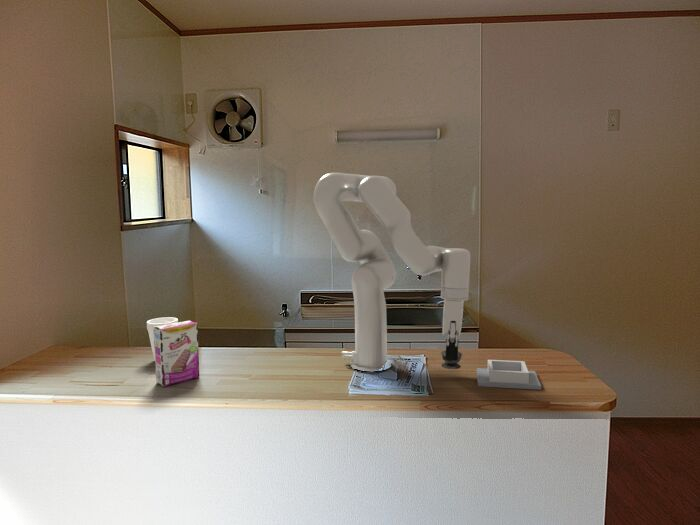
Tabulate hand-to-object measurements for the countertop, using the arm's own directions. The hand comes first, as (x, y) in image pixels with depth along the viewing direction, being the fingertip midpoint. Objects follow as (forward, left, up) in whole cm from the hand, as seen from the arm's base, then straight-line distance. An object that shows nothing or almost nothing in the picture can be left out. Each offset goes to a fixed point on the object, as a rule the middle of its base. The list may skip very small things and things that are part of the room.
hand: (451, 355), depth 144 cm
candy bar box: (-76, -15, -6) cm, 78 cm away
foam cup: (-91, +2, -6) cm, 91 cm away
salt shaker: (0, 0, -3) cm, 3 cm away
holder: (+15, 0, -6) cm, 16 cm away
